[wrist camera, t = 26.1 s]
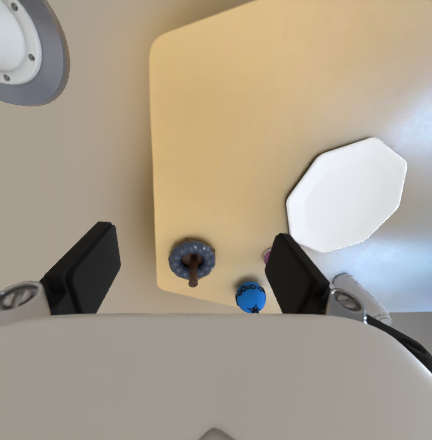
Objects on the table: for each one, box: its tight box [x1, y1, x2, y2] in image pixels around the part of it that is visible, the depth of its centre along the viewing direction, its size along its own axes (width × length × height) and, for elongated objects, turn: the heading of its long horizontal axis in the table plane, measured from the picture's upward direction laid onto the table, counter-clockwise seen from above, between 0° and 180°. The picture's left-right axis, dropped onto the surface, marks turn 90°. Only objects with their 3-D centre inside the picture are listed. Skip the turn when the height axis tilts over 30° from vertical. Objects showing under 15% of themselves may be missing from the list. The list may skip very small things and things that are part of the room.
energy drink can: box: [333, 274, 393, 326], centre depth 52 cm, size 6×6×15 cm
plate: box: [286, 138, 407, 253], centre depth 45 cm, size 28×28×2 cm
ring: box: [168, 241, 215, 280], centre depth 46 cm, size 12×12×3 cm
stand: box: [181, 238, 215, 287], centre depth 44 cm, size 8×8×10 cm
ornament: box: [235, 282, 266, 313], centre depth 52 cm, size 9×9×10 cm
